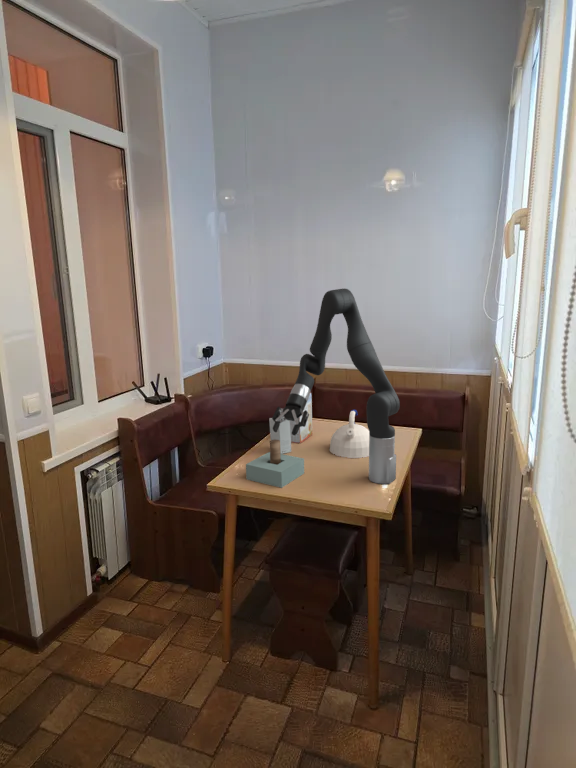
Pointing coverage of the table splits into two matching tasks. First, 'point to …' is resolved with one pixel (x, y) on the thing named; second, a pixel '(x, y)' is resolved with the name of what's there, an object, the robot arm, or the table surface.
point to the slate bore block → (275, 470)
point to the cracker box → (303, 431)
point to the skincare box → (281, 435)
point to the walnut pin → (275, 452)
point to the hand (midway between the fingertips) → (283, 432)
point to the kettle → (350, 440)
